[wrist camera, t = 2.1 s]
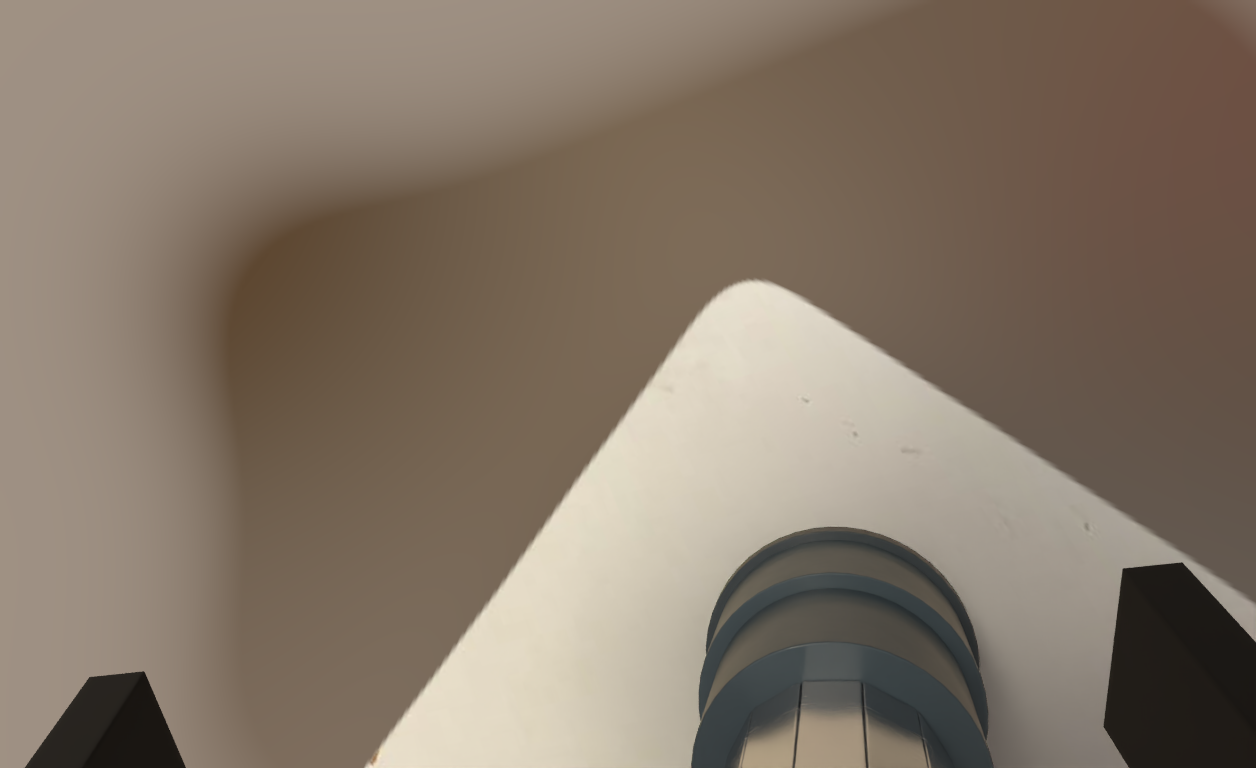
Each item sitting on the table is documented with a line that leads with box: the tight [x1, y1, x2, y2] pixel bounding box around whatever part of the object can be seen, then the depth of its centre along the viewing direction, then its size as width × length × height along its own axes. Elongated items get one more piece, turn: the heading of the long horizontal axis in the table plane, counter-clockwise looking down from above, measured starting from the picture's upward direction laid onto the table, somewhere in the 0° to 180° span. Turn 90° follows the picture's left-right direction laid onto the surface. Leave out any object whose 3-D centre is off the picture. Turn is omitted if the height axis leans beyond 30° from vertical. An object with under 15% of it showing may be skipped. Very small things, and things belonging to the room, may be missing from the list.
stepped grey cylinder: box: [691, 527, 994, 768], centre depth 37 cm, size 12×12×12 cm
